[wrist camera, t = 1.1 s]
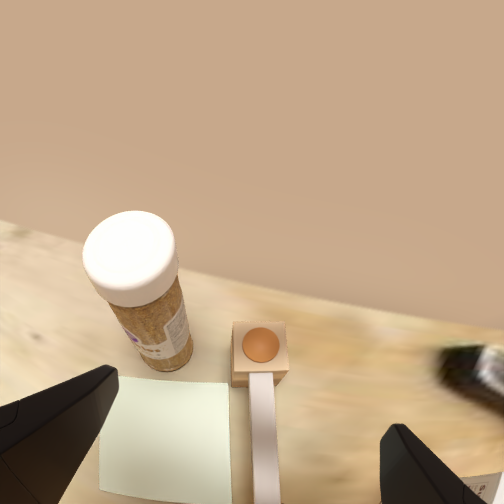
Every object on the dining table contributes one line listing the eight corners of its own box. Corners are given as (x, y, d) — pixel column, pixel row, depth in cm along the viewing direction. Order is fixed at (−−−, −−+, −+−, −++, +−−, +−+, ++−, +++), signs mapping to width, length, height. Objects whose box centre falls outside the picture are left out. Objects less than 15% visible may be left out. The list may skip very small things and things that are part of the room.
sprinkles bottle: (131, 357, 22) (61, 261, 11) (156, 313, 25) (118, 196, 14) (179, 382, 21) (138, 304, 11) (203, 335, 24) (193, 224, 14)
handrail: (285, 539, 14) (302, 560, 10) (237, 543, 13) (242, 566, 9) (272, 346, 24) (285, 319, 20) (230, 346, 24) (233, 319, 20)
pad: (231, 503, 16) (232, 504, 15) (101, 489, 15) (99, 489, 14) (228, 384, 22) (228, 382, 21) (106, 375, 21) (104, 374, 20)
